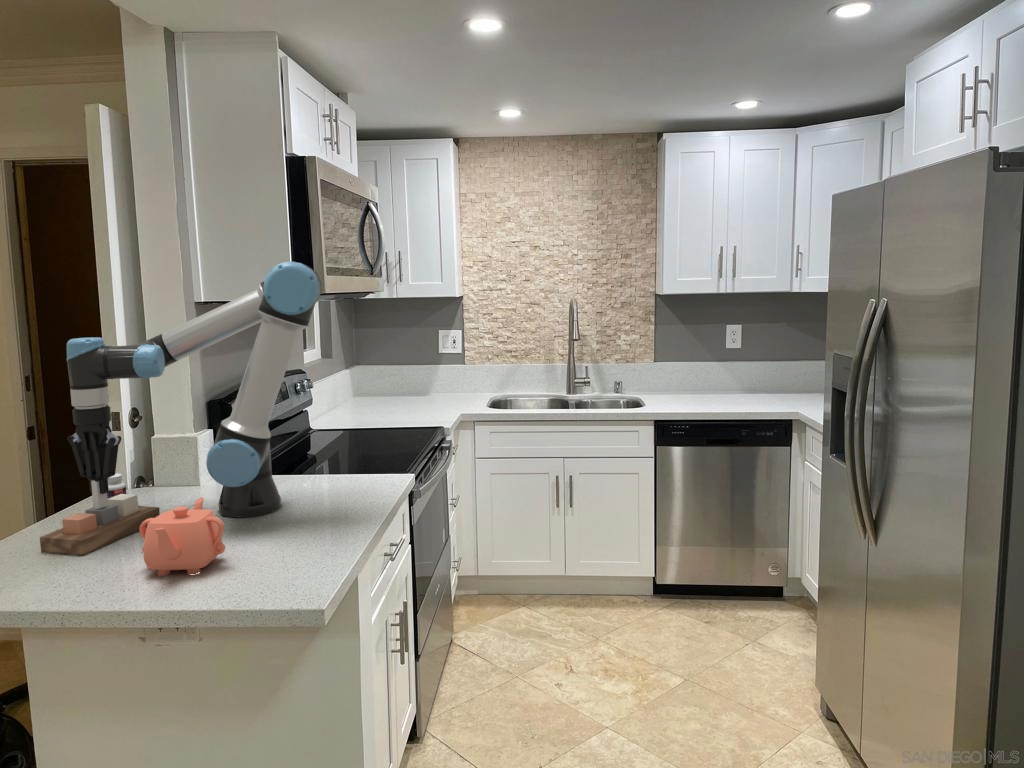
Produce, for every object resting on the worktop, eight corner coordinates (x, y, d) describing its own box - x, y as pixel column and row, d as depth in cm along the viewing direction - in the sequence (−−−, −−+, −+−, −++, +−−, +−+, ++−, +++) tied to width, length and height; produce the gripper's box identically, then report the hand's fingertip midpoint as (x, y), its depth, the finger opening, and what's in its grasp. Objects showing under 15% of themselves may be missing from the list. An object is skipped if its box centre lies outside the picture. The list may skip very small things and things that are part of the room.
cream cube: (139, 514, 183) (137, 494, 182) (125, 520, 178) (123, 500, 178) (123, 513, 184) (121, 493, 183) (108, 519, 180) (106, 499, 179)
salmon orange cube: (97, 535, 170) (95, 514, 170) (81, 542, 166) (79, 520, 165) (80, 534, 172) (78, 512, 171) (64, 541, 167) (62, 519, 166)
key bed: (160, 521, 185) (159, 507, 185) (82, 556, 162) (81, 540, 162) (122, 518, 188) (121, 504, 188) (41, 552, 165) (39, 537, 165)
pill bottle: (118, 516, 190) (114, 478, 189) (99, 515, 191) (95, 477, 190) (132, 509, 195) (129, 473, 194) (114, 508, 197) (111, 472, 195)
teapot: (160, 589, 144) (154, 525, 142) (133, 566, 156) (128, 507, 154) (237, 568, 154) (232, 508, 152) (206, 547, 166) (202, 492, 164)
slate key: (119, 526, 177) (117, 505, 176) (104, 532, 172) (102, 511, 172) (102, 524, 178) (100, 504, 177) (87, 531, 173) (85, 510, 173)
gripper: (127, 404, 173) (136, 503, 176) (80, 402, 176) (90, 500, 180) (102, 409, 166) (112, 513, 169) (53, 408, 169) (64, 510, 172)
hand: (100, 506), depth 174 cm, fingers closed
